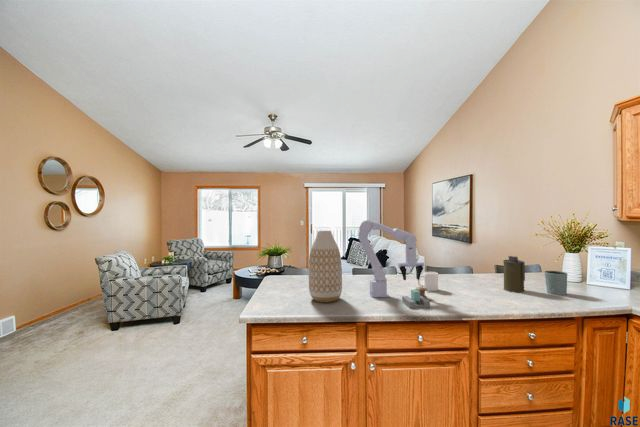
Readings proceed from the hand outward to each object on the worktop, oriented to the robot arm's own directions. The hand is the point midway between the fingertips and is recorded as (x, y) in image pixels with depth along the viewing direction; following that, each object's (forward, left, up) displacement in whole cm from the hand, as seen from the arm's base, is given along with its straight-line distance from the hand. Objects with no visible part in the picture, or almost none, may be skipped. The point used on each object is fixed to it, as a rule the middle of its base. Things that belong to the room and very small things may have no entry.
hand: (411, 279), depth 161 cm
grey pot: (+83, -4, -10) cm, 84 cm away
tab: (-3, -14, -9) cm, 17 cm away
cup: (+16, +14, -10) cm, 24 cm away
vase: (-48, +3, -10) cm, 49 cm away
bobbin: (+5, -2, -10) cm, 11 cm away
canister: (+65, +5, -10) cm, 66 cm away
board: (-3, -13, -10) cm, 16 cm away
